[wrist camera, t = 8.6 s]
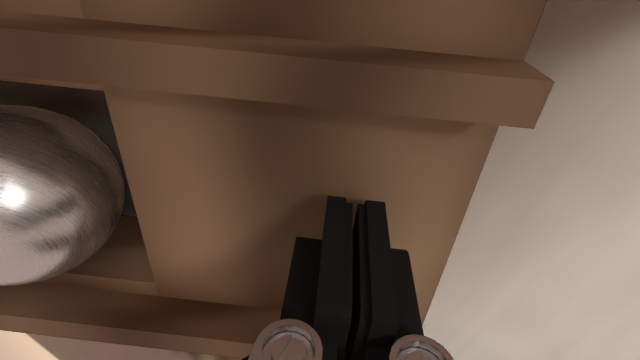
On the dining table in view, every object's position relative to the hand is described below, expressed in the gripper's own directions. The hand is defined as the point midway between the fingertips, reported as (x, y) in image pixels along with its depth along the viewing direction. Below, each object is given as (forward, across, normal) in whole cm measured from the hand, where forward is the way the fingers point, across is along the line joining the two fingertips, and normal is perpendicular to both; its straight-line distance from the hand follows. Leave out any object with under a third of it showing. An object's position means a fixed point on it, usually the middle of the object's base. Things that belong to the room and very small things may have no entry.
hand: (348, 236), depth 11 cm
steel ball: (+1, +11, +1) cm, 11 cm away
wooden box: (+4, +7, 0) cm, 8 cm away
